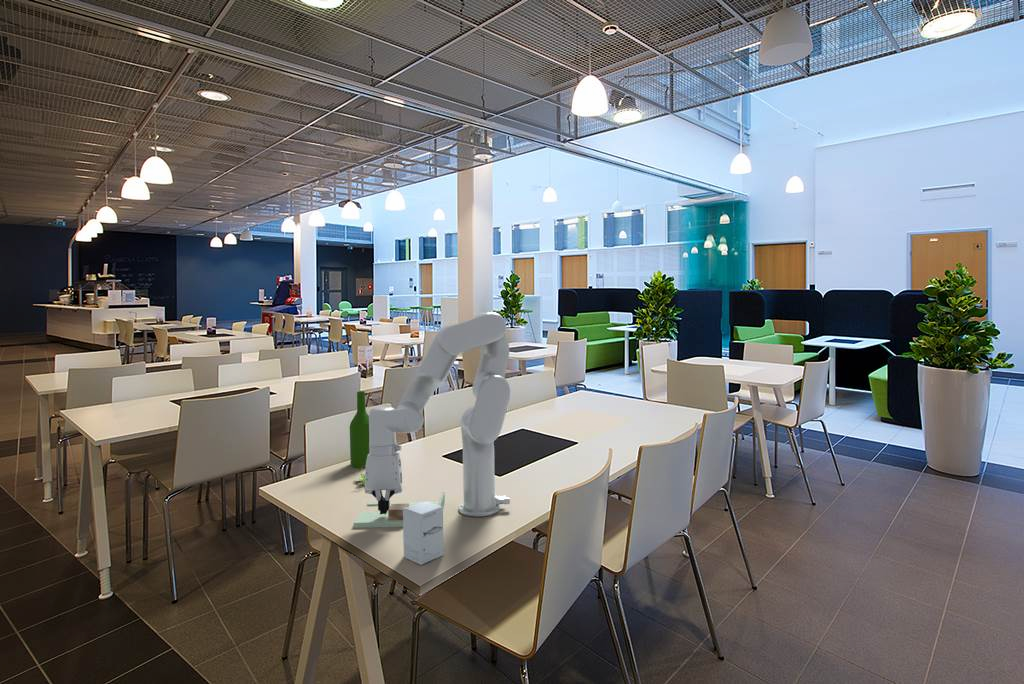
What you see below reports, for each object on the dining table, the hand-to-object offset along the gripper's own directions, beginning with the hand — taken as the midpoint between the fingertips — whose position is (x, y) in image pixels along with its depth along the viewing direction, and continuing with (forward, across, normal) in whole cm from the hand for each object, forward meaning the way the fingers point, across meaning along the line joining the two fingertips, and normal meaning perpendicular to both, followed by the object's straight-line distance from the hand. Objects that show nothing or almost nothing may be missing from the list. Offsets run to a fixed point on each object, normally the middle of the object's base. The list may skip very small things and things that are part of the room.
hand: (383, 512), depth 153 cm
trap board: (+4, -4, -4) cm, 7 cm away
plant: (+4, +11, -32) cm, 34 cm away
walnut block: (+1, -4, 0) cm, 4 cm away
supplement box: (+4, -14, +21) cm, 26 cm away
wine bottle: (+4, +19, -51) cm, 55 cm away
